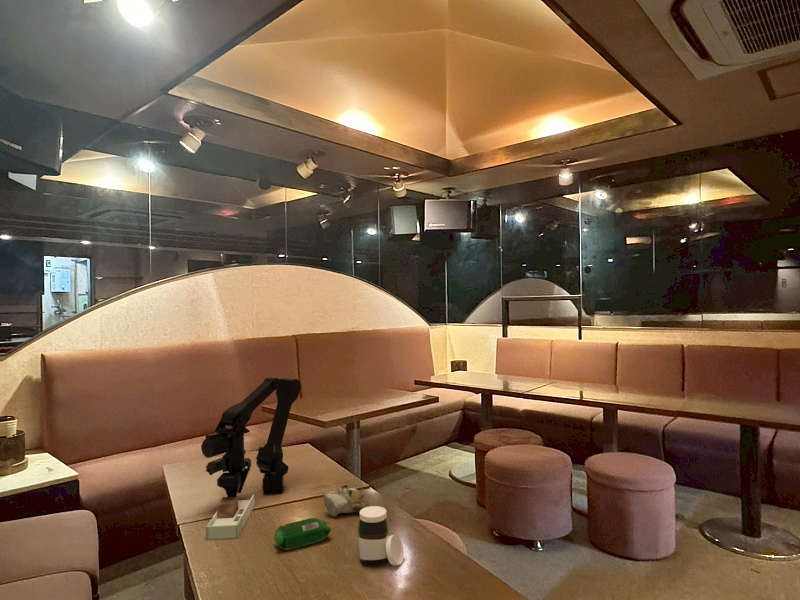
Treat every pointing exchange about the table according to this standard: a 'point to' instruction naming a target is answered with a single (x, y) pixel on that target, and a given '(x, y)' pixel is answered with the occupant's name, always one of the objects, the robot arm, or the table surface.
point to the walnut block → (227, 507)
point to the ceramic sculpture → (344, 501)
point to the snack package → (301, 533)
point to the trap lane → (230, 522)
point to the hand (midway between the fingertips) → (235, 498)
